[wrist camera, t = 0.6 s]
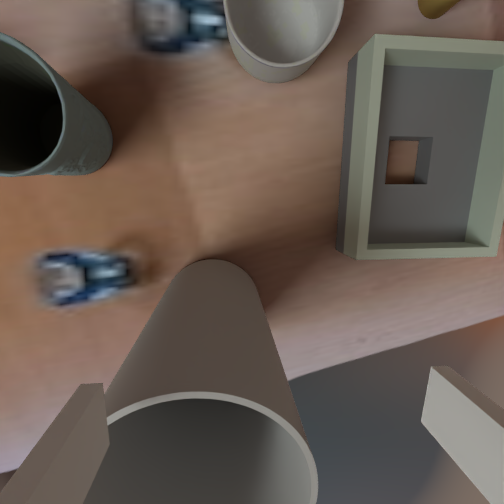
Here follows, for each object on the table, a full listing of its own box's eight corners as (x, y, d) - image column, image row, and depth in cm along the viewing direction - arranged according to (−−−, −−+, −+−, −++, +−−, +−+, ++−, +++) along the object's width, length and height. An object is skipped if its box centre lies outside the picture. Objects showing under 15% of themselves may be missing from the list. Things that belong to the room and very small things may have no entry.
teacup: (326, 77, 33) (358, 41, 25) (242, 108, 33) (248, 81, 25) (291, -59, 30) (315, -149, 22) (197, -25, 29) (188, -104, 22)
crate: (348, 62, 33) (375, 33, 27) (485, 68, 34) (538, 43, 29) (335, 249, 38) (356, 260, 32) (455, 246, 39) (496, 256, 33)
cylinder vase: (270, 273, 37) (356, 422, 13) (241, 351, 40) (269, 606, 15) (181, 245, 35) (86, 362, 11) (156, 330, 38) (30, 583, 13)
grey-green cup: (15, 97, 30) (-117, 37, 18) (107, 81, 31) (35, 13, 19) (48, 189, 32) (-51, 188, 21) (133, 173, 33) (83, 163, 21)
